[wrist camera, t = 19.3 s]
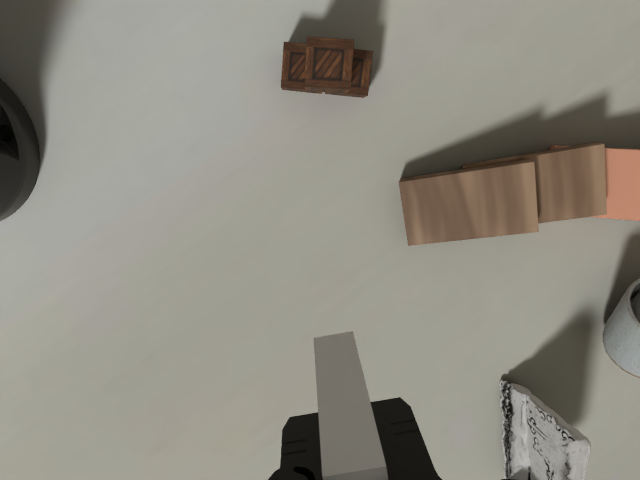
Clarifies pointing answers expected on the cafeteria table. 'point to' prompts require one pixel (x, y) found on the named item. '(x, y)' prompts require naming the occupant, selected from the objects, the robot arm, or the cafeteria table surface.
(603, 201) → the domino
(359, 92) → the stack of crates
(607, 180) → the domino
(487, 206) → the domino
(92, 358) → the cafeteria table surface
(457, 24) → the cafeteria table surface
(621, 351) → the ceramic mug
